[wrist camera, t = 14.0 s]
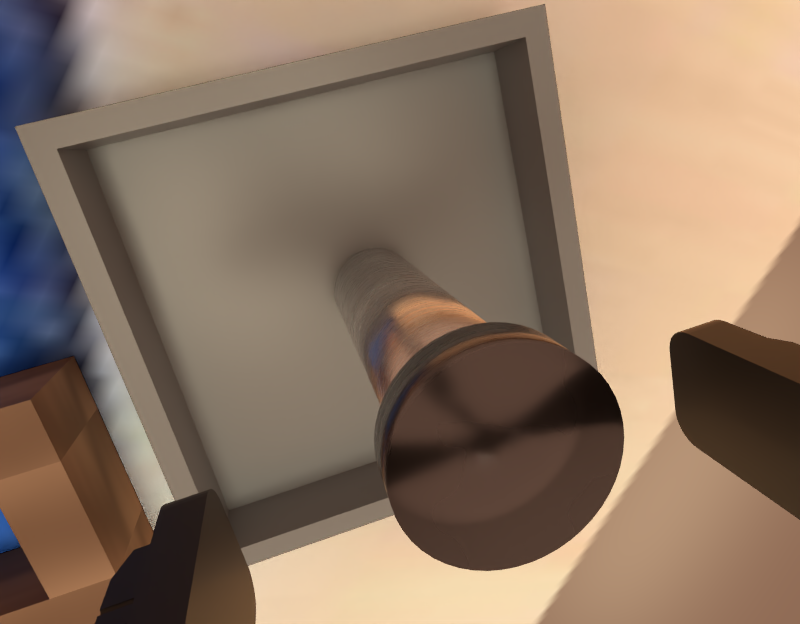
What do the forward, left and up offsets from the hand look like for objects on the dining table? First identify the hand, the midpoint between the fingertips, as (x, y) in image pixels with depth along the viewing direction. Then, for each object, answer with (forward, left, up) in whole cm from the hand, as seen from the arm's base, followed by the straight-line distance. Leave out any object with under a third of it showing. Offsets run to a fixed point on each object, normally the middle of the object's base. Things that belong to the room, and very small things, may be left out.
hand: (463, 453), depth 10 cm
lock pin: (0, +1, -13) cm, 13 cm away
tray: (0, 0, -14) cm, 14 cm away
